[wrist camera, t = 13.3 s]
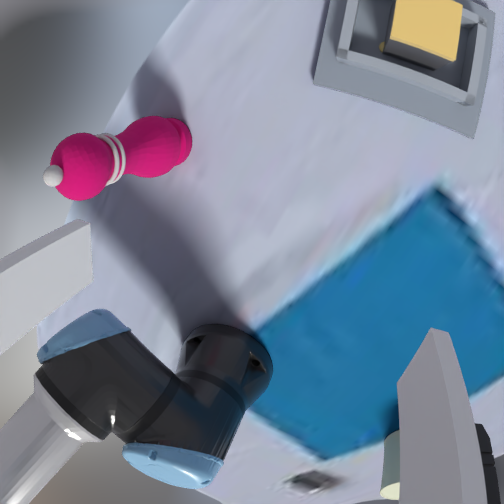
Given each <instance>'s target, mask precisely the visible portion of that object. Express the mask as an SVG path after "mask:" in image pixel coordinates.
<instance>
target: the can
mask: <svg viewBox="0 0 504 504" xmlns="http://www.w3.org/2000/svg"><path fill="white" fill-rule="evenodd" d="M399 489H400V430H398V431H395V432H393V433H391V434H390V435H389V436H388V437H387V438H386V439H385V441H384V464H383V475H382V484H381V490H380V494H381V496H382V497H384V498H387V499H392V500H399Z"/></svg>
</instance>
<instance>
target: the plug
mask: <svg viewBox="0 0 504 504" xmlns="http://www.w3.org/2000/svg"><path fill="white" fill-rule="evenodd" d="M462 7H463V5H462V4H460V3H457V2H455V1H453V0H393V3H392V6H391V9H390V15H389V21H388V26H387V32H386V37H385V43H384V48H383V53H382V54H385V55H389V56H392V57H395V58H398V59H401V60H404V61H407V62H410V63H413V64H415V65H418V66H421V67H424V68H426V69H429V70H431V71H435V70H436V69H438V68H440V67H442V66H444V65H446V64H448V63H450V62H452V61H454V60H456V55H457V48H458V41H459V34H460V26H461V17H462Z"/></svg>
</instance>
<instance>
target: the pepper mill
mask: <svg viewBox="0 0 504 504" xmlns="http://www.w3.org/2000/svg"><path fill="white" fill-rule="evenodd" d="M191 148H192V137H191V134H190V131H189V129H188V128H187V126H186V125H185V124H184V123H183V122H182V121H180V120H178V119H175V118H162V117H159V116H148V117H143V118H141V119H138V120H136V121H135V122H133V123H132V124H130V125H129V126H128V127H127V128H126V129H125V130H124V131H123V132H122V133H120V134H118V135H116V136H113V135H111V134H108V133H103V134H100V135H92V134H89V133H76V134H73V135H71V136H69V137H67V138H65V139H64V140H63V141H61V142H60V143H59V145H58V146H57V147H56V149H55V150H54V152H53V155H52V158H51V163H50V166H49V167H48V168H47V169H46V170H45V172H44V174H43V179H44V182H45V183H46V184H47V185H48V186H51V187H54V186H55V187H56V189H57V190H58V191H59V192H60V193H61V194H62V195H63V196H65V197H66V198H69V199H71V200H77V201H81V200H86V199H90V198H92V197H94V196H96V195H97V194H99V193H100V192H101V191H102V190H103V189H104V188H105V186H107V185H109V184H112V183H115V182H116V181H118V180H119V179H120V178H121V176H122V175H124V174H134V175H137V176H139V177H147V178H151V177H157V176H161V175H163V174H165V173H167V172H169V171H170V170H171V169H172V168H173V167H174V166H176V165H179V164H181V163H182V162H184V161H185V160H186V159H187V157H188V156H189V153H190V151H191Z"/></svg>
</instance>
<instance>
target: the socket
mask: <svg viewBox="0 0 504 504" xmlns="http://www.w3.org/2000/svg"><path fill="white" fill-rule="evenodd" d="M453 1H455V2H457V3H460V4H462V5H463V7H462V17H461V26H460V34H459V41H458V48H457V55H456V60H454V61H452V62H450V63H448V64H446V65H444V66H442V67H440V68H438V69H436V70H435V71H431V70H429V69H426V68H424V67H421V66H418V65H415V64H413V63H410V62H407V61H404V60H401V59H398V58H395V57H392V56H389V55H385V54H382V53H383V48H384V43H385V37H386V32H387V26H388V21H389V15H390V9H391V6H392V3H393V0H330V4H329V9H328V14H327V19H326V24H325V29H324V34H323V38H322V43H321V48H320V53H319V57H318V62H317V67H316V71H315V76H314V81H313V84H314V85H316V86H321V87H325V88H329V89H333V90H336V91H340V92H344V93H348V94H351V95H355V96H358V97H362V98H365V99H368V100H372V101H375V102H378V103H381V104H384V105H387V106H390V107H393V108H396V109H399V110H402V111H405V112H407V113H410V114H413V115H416V116H418V117H421V118H423V119H426V120H429V121H431V122H434V123H436V124H439V125H441V126H443V127H446V128H448V129H450V130H453V131H455V132H457V133H460V134H462V135H464V136H466V137H468V138H471V139H474V136H475V132H476V128H477V124H478V120H479V116H480V112H481V107H482V103H483V98H484V93H485V88H486V82H487V77H488V71H489V64H490V58H491V50H492V42H493V33H494V22H495V12H493V11H491V10H489V9H487V8H485V7H483V6H481V5H479V4H477V3H475V2H473V1H471V0H453Z"/></svg>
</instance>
